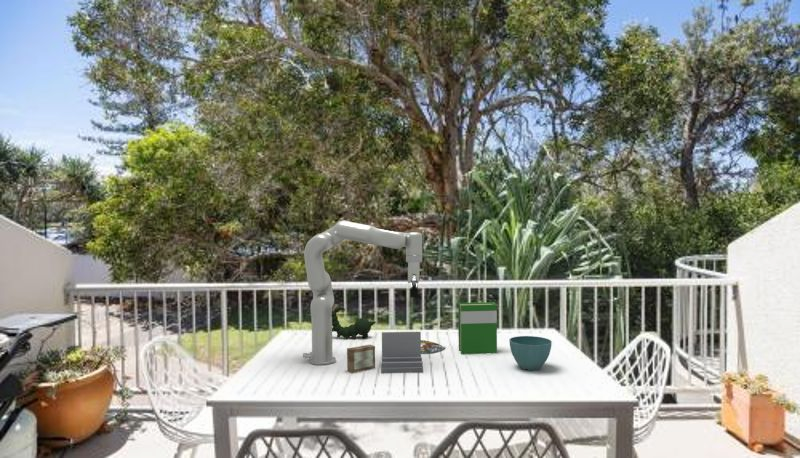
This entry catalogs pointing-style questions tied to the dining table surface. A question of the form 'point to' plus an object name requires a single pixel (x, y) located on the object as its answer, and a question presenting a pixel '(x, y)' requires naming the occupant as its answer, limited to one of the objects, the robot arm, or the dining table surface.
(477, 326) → the hardback book
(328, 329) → the robot arm
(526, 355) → the teal bowl
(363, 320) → the toy figurine
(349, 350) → the picture frame
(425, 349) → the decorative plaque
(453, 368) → the dining table surface
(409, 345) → the display ledge
